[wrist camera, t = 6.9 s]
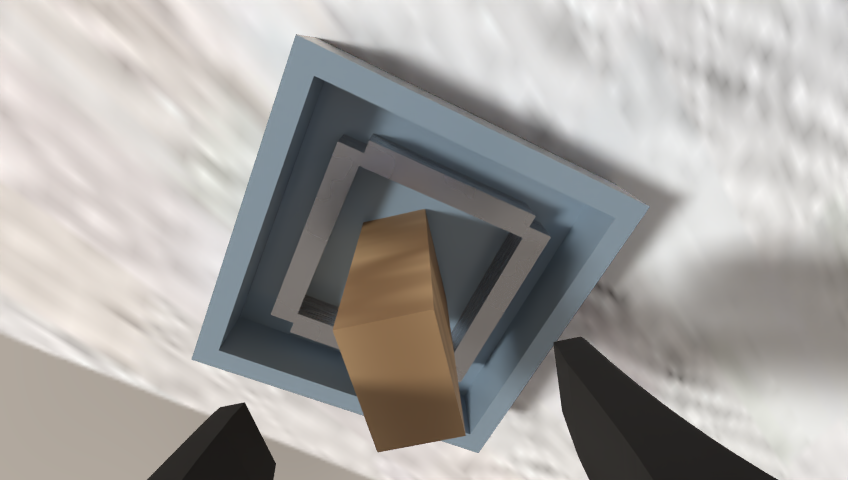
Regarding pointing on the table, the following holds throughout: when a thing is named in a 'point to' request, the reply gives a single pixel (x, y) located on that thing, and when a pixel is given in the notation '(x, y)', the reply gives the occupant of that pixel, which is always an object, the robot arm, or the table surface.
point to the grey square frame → (438, 184)
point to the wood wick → (399, 335)
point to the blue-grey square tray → (381, 197)
